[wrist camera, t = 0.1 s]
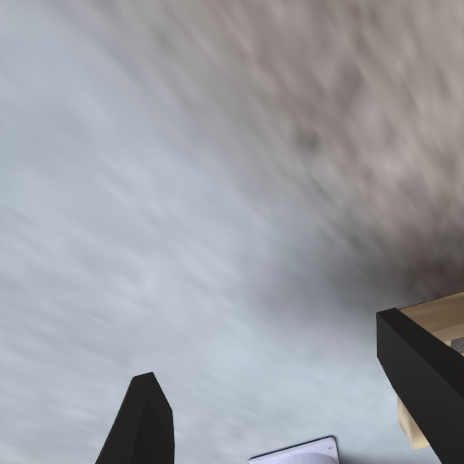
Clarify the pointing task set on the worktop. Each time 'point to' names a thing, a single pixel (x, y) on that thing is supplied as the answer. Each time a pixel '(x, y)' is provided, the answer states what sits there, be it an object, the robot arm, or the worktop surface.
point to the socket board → (444, 328)
